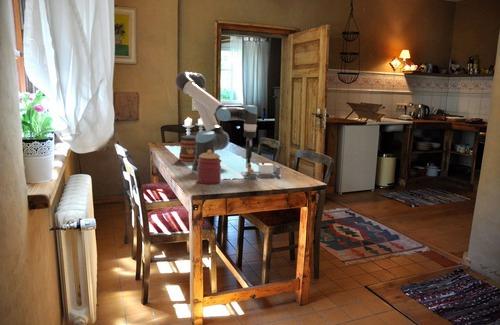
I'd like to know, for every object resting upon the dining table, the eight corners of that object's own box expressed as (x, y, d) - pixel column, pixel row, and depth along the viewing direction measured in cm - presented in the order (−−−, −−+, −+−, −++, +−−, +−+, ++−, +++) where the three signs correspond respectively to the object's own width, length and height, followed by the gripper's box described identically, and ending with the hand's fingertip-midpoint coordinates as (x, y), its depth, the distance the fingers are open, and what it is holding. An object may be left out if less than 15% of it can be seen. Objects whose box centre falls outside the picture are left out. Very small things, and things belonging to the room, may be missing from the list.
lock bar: (250, 174, 226) (250, 167, 225) (247, 170, 238) (247, 163, 237) (253, 174, 226) (253, 168, 226) (250, 170, 238) (250, 164, 237)
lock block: (259, 174, 230) (260, 163, 229) (258, 172, 235) (258, 161, 234) (272, 175, 231) (273, 163, 230) (270, 173, 237) (271, 162, 235)
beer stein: (203, 157, 279) (204, 130, 275) (208, 161, 265) (209, 132, 262) (177, 158, 273) (178, 130, 269) (180, 162, 259) (181, 132, 255)
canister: (222, 184, 204) (223, 151, 201) (197, 184, 202) (198, 151, 198) (218, 178, 217) (220, 147, 214) (195, 178, 214) (196, 147, 211)
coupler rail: (244, 178, 221) (245, 169, 220) (241, 172, 236) (241, 163, 235) (281, 179, 224) (282, 169, 223) (276, 173, 239) (276, 164, 238)
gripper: (257, 132, 231) (255, 170, 236) (254, 129, 244) (252, 166, 248) (245, 131, 230) (243, 170, 234) (242, 129, 243) (240, 165, 247)
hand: (247, 168), depth 241 cm, fingers closed
